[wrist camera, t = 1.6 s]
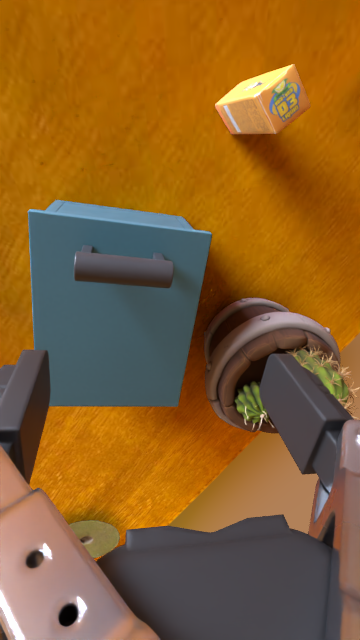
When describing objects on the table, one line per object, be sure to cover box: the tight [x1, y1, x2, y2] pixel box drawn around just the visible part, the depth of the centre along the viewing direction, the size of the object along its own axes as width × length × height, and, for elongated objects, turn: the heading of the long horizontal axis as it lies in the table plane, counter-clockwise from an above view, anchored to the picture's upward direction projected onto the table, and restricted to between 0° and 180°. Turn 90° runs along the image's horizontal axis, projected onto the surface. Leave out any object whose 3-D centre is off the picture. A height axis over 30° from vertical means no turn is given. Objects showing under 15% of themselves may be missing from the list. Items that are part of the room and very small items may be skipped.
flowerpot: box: [204, 298, 358, 433], centre depth 35 cm, size 14×15×20 cm
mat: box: [69, 520, 120, 558], centre depth 57 cm, size 11×11×2 cm
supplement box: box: [215, 64, 310, 134], centre depth 27 cm, size 3×3×10 cm
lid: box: [28, 209, 212, 407], centre depth 25 cm, size 17×13×5 cm
